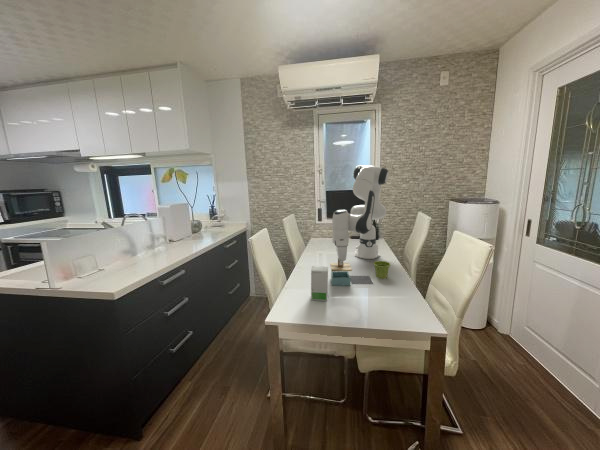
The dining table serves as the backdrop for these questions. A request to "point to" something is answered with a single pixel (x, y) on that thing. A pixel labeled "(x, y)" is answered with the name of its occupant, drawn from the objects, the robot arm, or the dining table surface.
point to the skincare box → (319, 283)
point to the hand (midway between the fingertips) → (340, 263)
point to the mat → (360, 280)
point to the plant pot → (381, 269)
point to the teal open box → (340, 278)
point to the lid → (340, 267)
